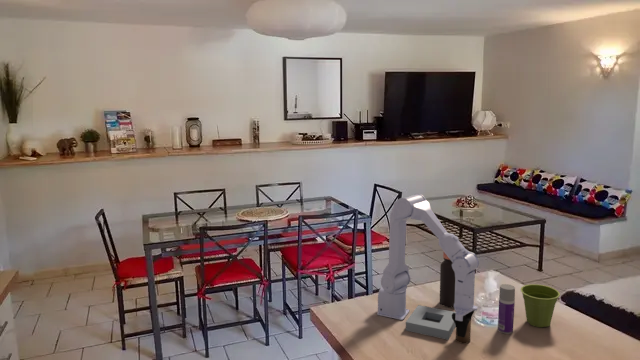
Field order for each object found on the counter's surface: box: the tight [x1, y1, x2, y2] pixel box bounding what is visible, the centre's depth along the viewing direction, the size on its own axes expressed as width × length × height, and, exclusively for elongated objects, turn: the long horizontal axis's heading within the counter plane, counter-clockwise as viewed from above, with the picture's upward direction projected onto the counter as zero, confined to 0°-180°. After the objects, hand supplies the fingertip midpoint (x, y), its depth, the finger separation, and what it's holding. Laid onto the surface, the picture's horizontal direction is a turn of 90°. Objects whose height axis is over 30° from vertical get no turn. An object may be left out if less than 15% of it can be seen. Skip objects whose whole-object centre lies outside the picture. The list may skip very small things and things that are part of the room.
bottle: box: [439, 251, 455, 308], centre depth 174 cm, size 7×7×20 cm
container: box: [497, 283, 516, 335], centre depth 155 cm, size 5×5×15 cm
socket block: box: [405, 304, 456, 341], centre depth 160 cm, size 14×14×3 cm
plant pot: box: [520, 283, 561, 328], centre depth 159 cm, size 12×12×11 cm
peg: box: [455, 316, 472, 344], centre depth 150 cm, size 4×4×7 cm
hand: (463, 332), depth 150 cm, fingers closed on peg, 4 cm apart
